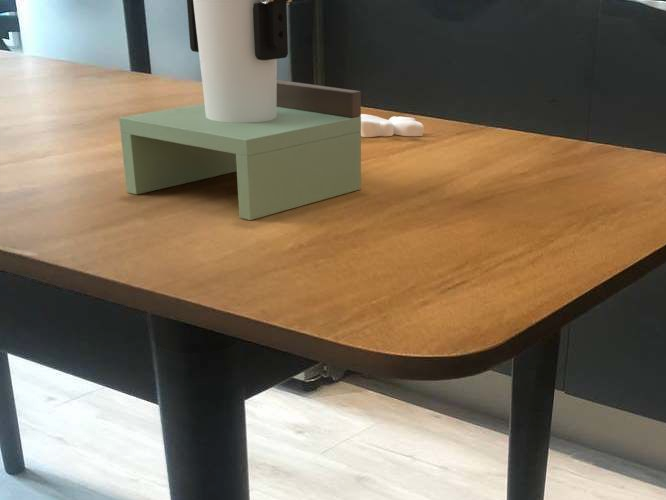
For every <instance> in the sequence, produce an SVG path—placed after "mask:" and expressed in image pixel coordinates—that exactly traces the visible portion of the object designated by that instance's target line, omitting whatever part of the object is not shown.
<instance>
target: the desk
mask: <svg viewBox="0 0 666 500" xmlns="http://www.w3.org/2000/svg"><path fill="white" fill-rule="evenodd" d="M361 95H362V92H361V91H360V90H355V89H348V88H347V89H346V88H340V87H332V86H325V85H318V84H312V83H311V84H310V83H303V82H298V81H297V82H296V81H290V80H289V81H288V80H282V79H277V106H276V115H277V116H276V119H273V120H270V121H263V122H253V123H230V122H219V121H214V120H210V119H208V118H207V117H206V112H205V103H199V104H193V105H192V104H191V105H186V106H180V107H174V108H169V109H162V110H155V111H150V112H143V113H138V114H130V115H125V116H120V117H118V121H119V130H120V131H119V132H120V139H121V149H122V159H123V160H122V161H123V168H124V169H123V171H124V180H125V187H126V188H125V189H126V193H128V194H131V195H136V196H137V195H140V194H146V193H149V192H154V191H158V190H163V189H166V188H172V187H176V186H180V185H184V184H185V185H186V184H188V183H193V182H197V181H202V180H207V179H211V178H214V177H215V178H216V177H218V176H222V175H228V174H231V173H236V179H237V181H236V182H237V201H238V217H239V218H240V219H242V220H248V221H253V220H256V219H260V218H263V217H267V216H271V215H274V214H278V213H281V212H285V211H288V210H293V209H296V208H299V207H303V206H306V205H310V204H313V203H317V202H320V201H323V200H329V199H331V198H334V197H338V196H341V195H345V194H349V193H352V192H356V191H359V190H361V189H362V136H361V132H360V131H361V117H360V116H361V114H362V99H361V98H362V96H361Z"/></svg>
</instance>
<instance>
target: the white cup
mask: <svg viewBox="0 0 666 500" xmlns="http://www.w3.org/2000/svg"><path fill="white" fill-rule="evenodd" d="M193 3H194V13H195V22H196V31H197V40H198V49H199V52H198V56H199V57H198V58H199V66H200V75H201V84H202V93H203V94H202V95H203V102H204V103H203V104H205V112H206V117H207V118H208V119H210V120H214V121H219V122H230V123H253V122H263V121H270V120H273V119H276V116H277V115H276V106H277V80H278V79H277V77H278V75H277V74H278V73H277V71H278V69H277V68H278V59H272V60H258V59H257V57H256V56H255V42H254V20H253V7H254V3H261V1H260V0H193Z"/></svg>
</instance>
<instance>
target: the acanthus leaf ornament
mask: <svg viewBox="0 0 666 500" xmlns="http://www.w3.org/2000/svg"><path fill="white" fill-rule="evenodd" d="M360 117H361V131H360V132H361V138H362V137H363V138H373V137H374V138H375V137H392V136H394V135H397V136H401V137H402V136H403V137H423V134H424V129H425V128H424V127H425V126H424V124H423V123H422V122H420V121H417V120H416V118H414V117H409V116H400V115H399V116H396V115H395V116H391V117H390V118H389V119H387V118H383V117H380V116H376V115H372V114H366V113H361V116H360Z"/></svg>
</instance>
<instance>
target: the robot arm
mask: <svg viewBox="0 0 666 500" xmlns="http://www.w3.org/2000/svg"><path fill="white" fill-rule="evenodd" d="M260 1H261V3H254V7H253V20H254V42H255V56H256V57H257V59H258V60H272V59H277V60H279V59H286V58H287V57H288V55H289V41H288V40H289V38H288V37H289V36H288V8H287V7H288V6H287V5H288V4H287V3H291V2H292V1H293V0H260ZM186 6H187V8H186V9H187V21H188V36H189V47H190V50H191V52H193V53H194V52H195V53H199V49H198V40H197V31H196V22H195V13H194V3H193V0H186Z"/></svg>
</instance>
